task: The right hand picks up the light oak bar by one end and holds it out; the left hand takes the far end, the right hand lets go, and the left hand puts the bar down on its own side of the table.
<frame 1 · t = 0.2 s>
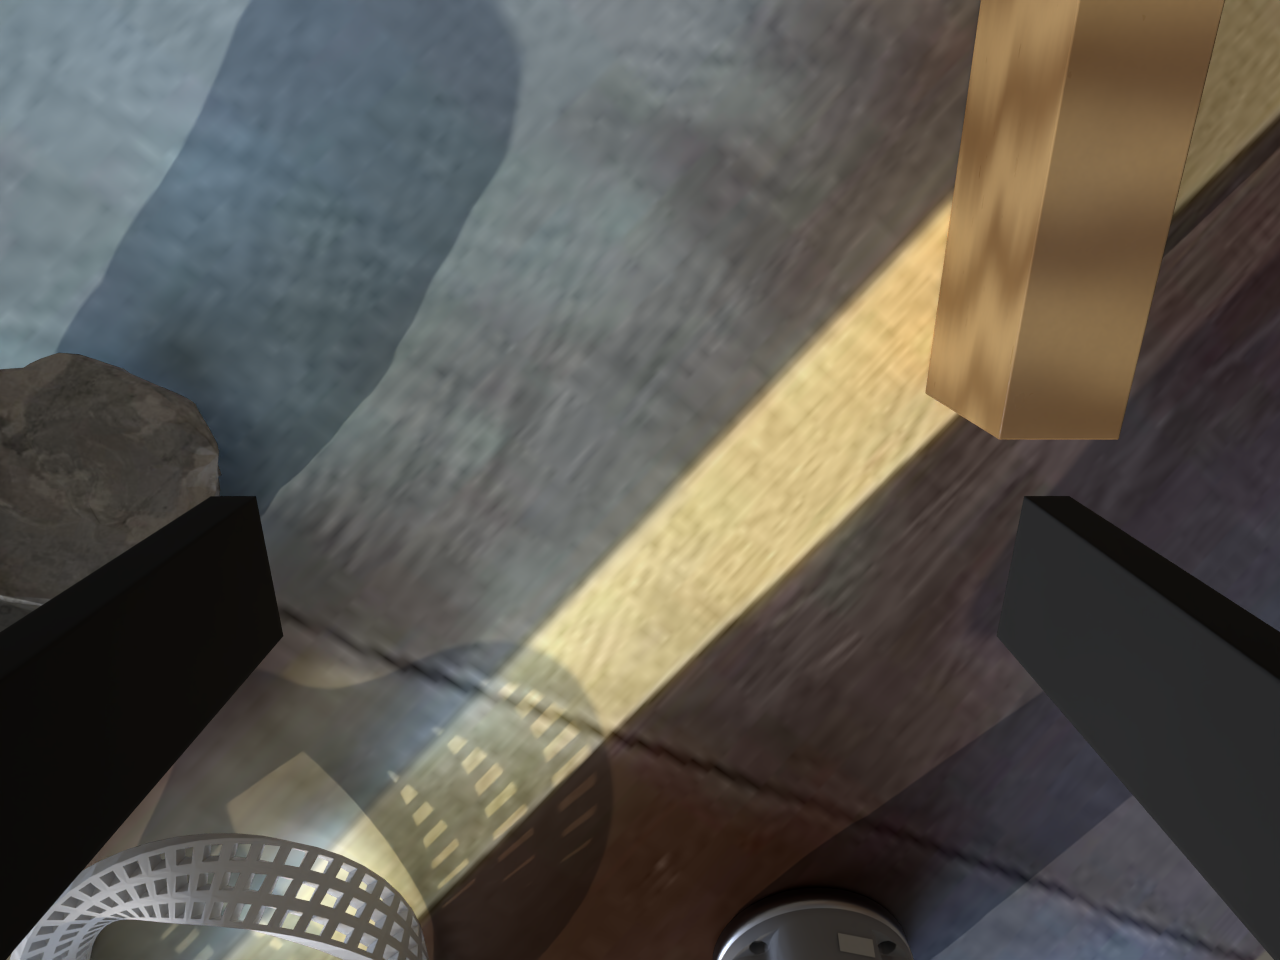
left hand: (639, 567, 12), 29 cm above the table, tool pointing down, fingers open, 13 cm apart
bar: (1017, 121, 36), on the table
decorative stone 2: (83, 570, 45), on the table
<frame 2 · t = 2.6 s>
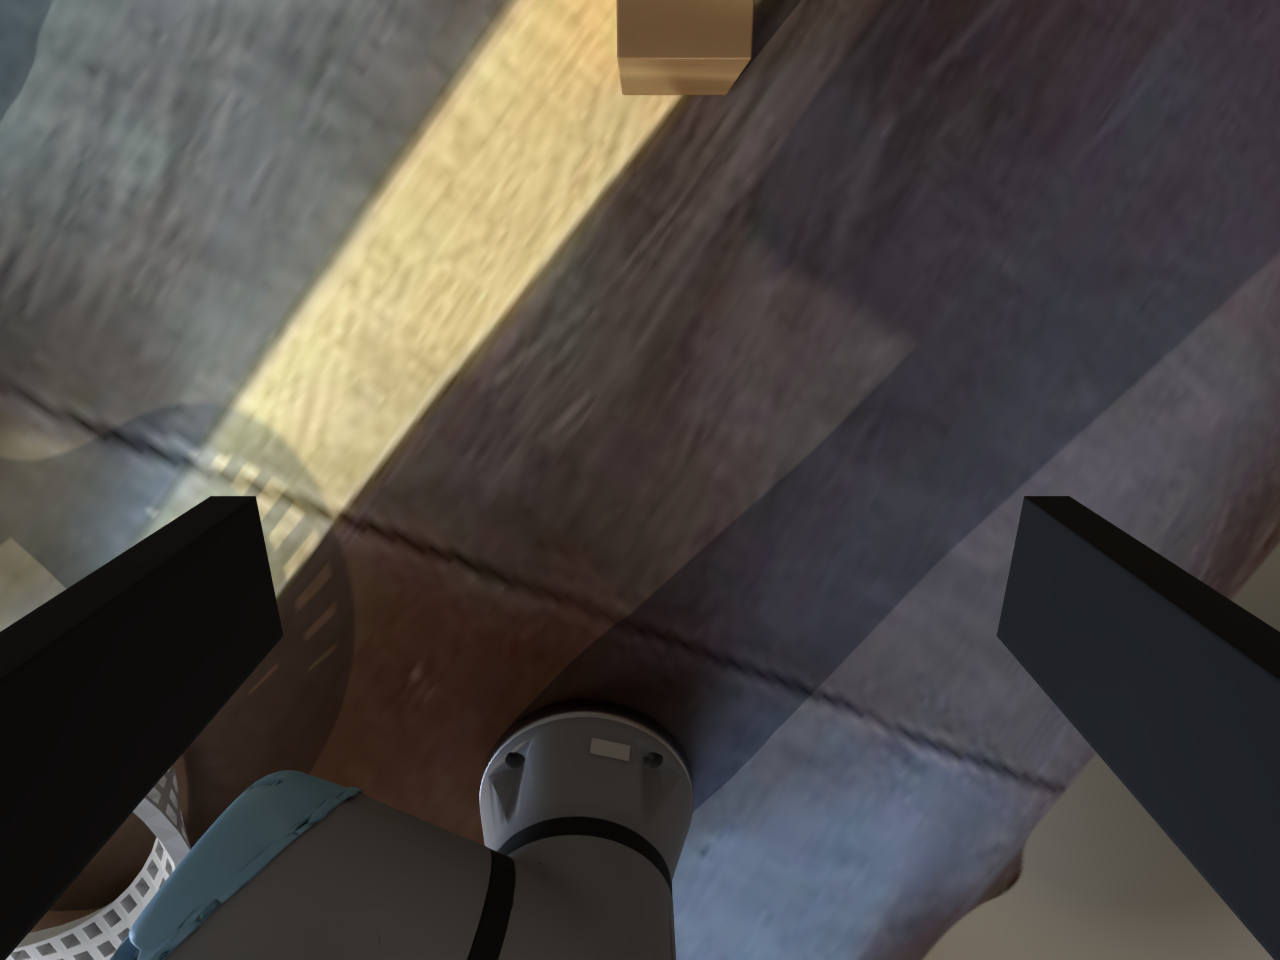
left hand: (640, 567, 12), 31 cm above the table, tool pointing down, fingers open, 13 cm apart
decorative object: (8, 795, 53), on the table
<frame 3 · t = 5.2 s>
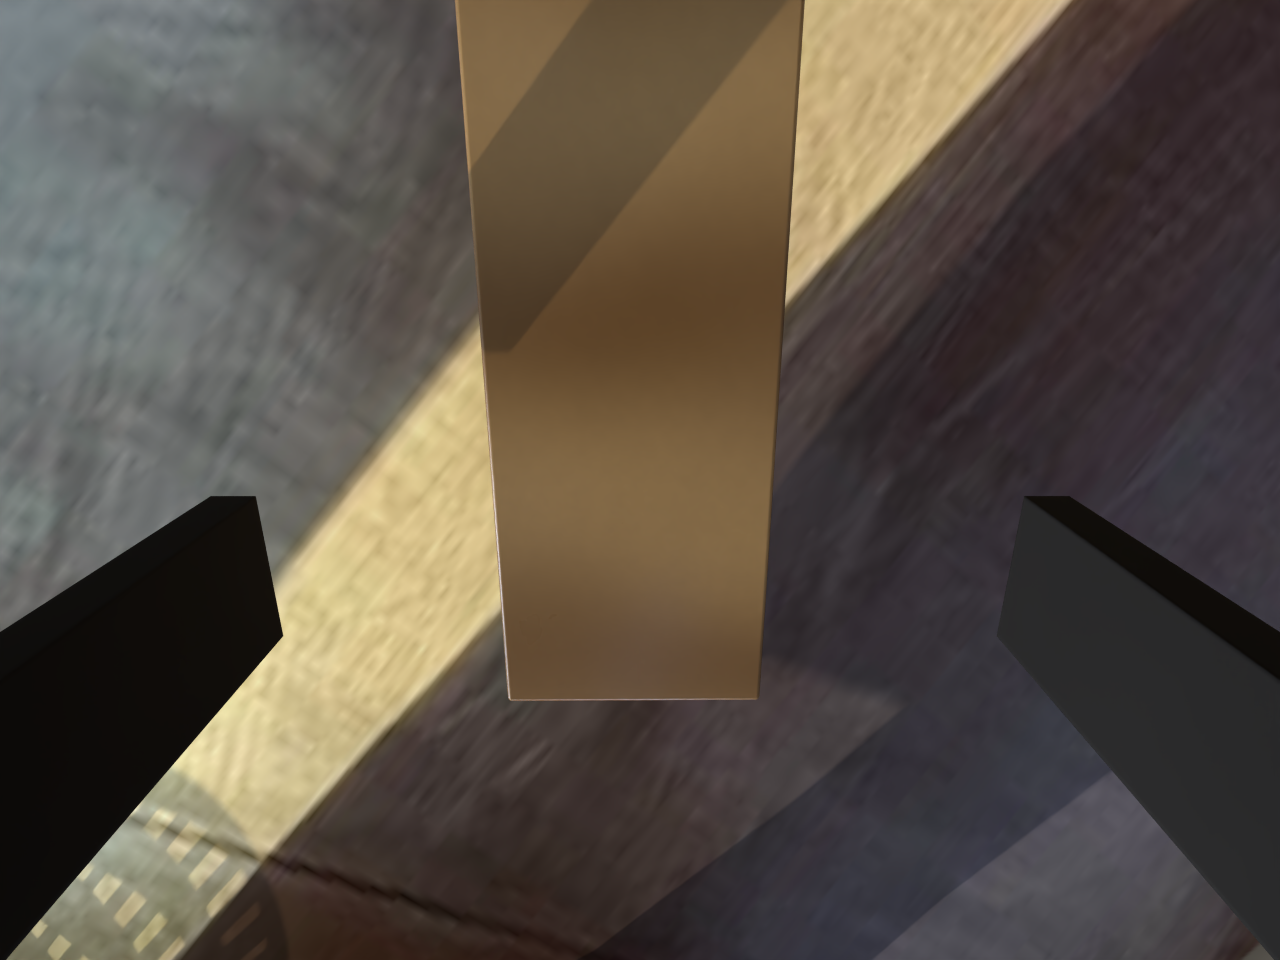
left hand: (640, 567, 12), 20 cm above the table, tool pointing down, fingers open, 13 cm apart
bar: (632, 56, 19), point 9 cm above the table, touching right hand
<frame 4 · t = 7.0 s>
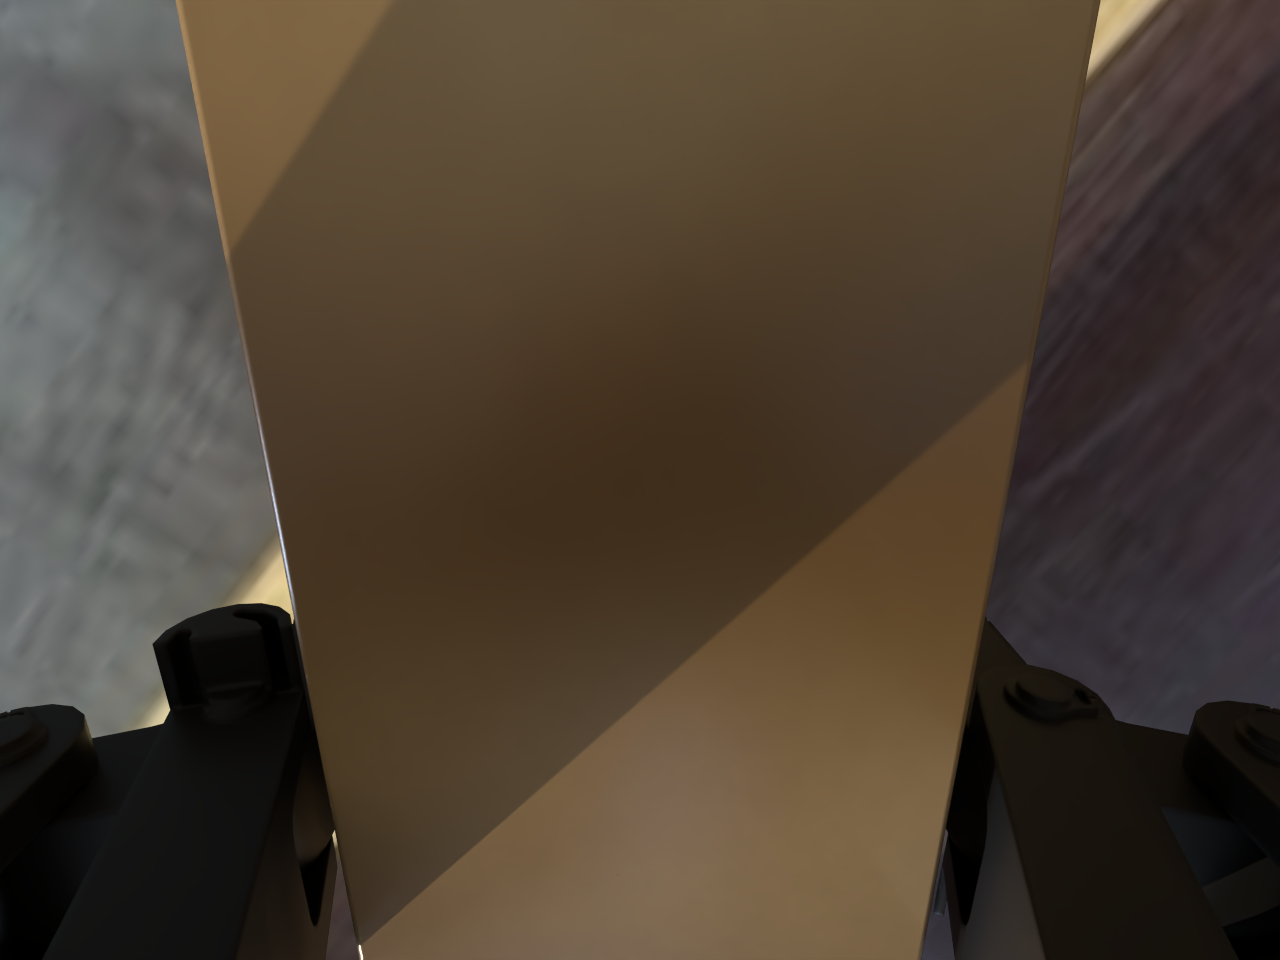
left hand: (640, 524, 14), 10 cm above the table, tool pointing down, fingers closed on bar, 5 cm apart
when the right hand's fingers open (13 cm above the table, at t = 7.8 s): bar stays where it is, held by the left hand.
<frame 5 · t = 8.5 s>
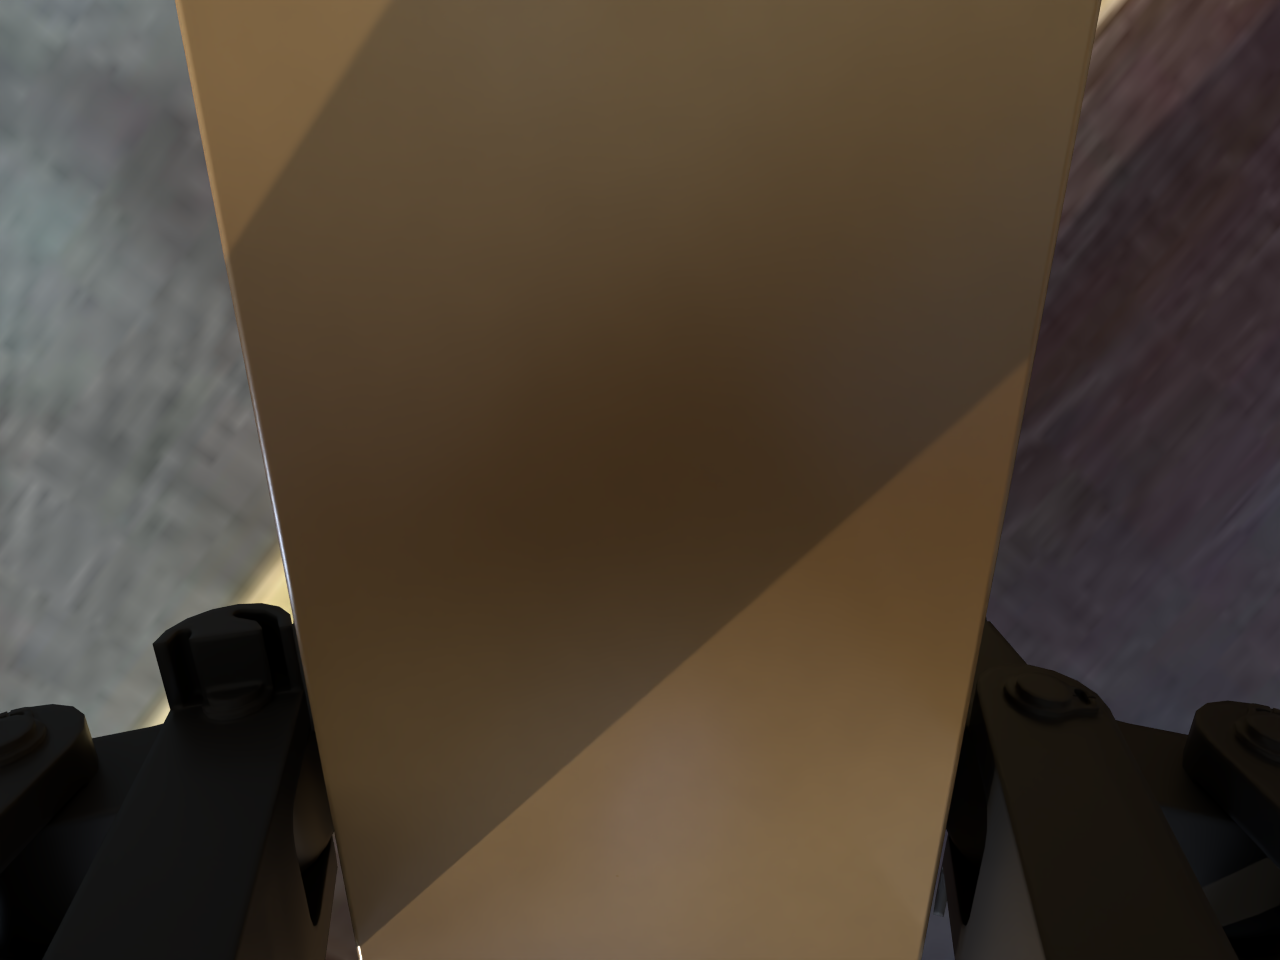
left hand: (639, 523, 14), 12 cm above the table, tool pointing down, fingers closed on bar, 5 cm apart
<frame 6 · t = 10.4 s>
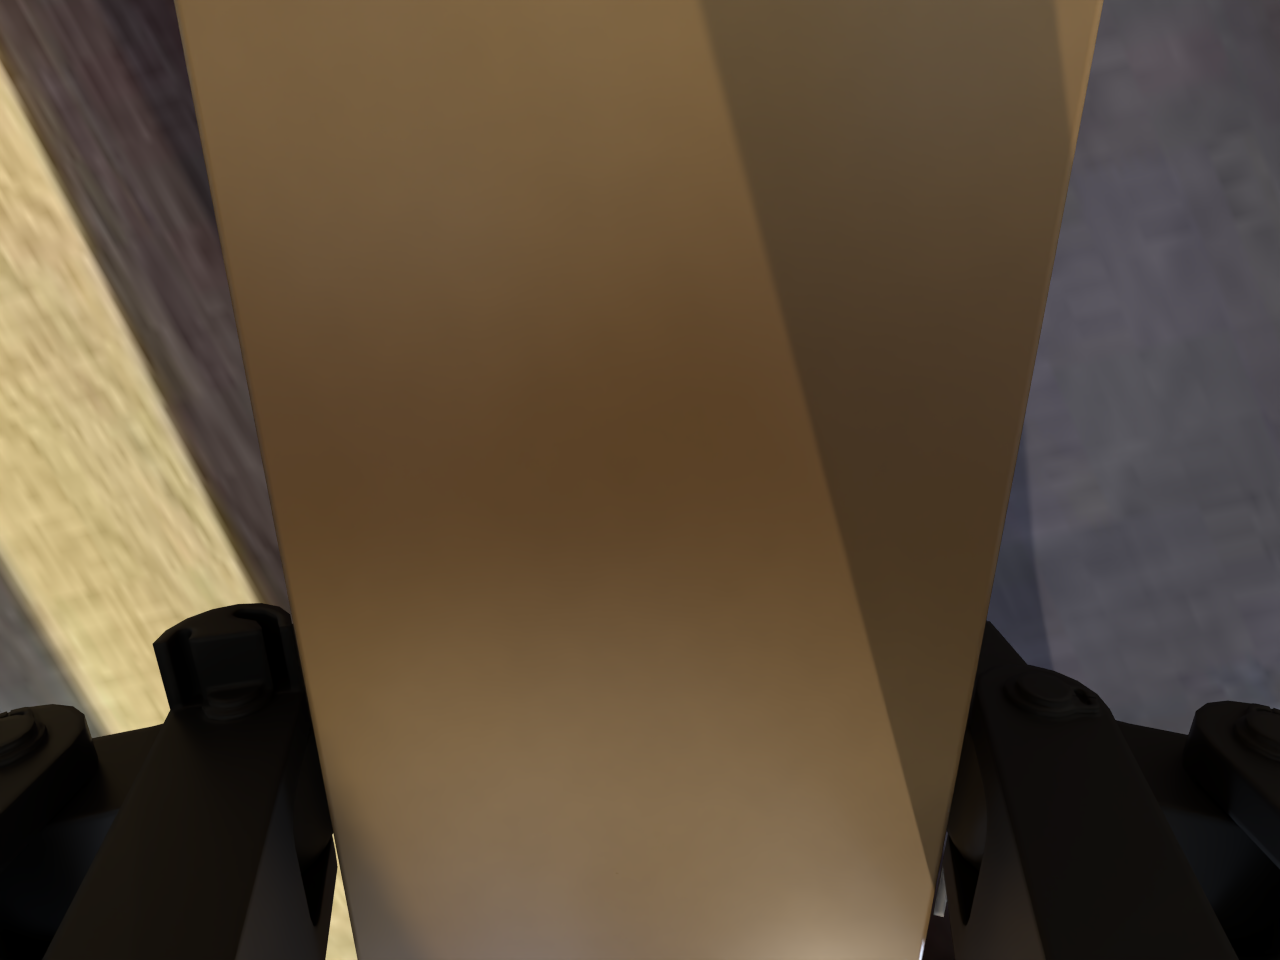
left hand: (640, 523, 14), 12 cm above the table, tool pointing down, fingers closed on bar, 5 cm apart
when the left hand's fingers open (2 cm above the table, at t = 11.8 s): bar drops 2 cm, on the table.
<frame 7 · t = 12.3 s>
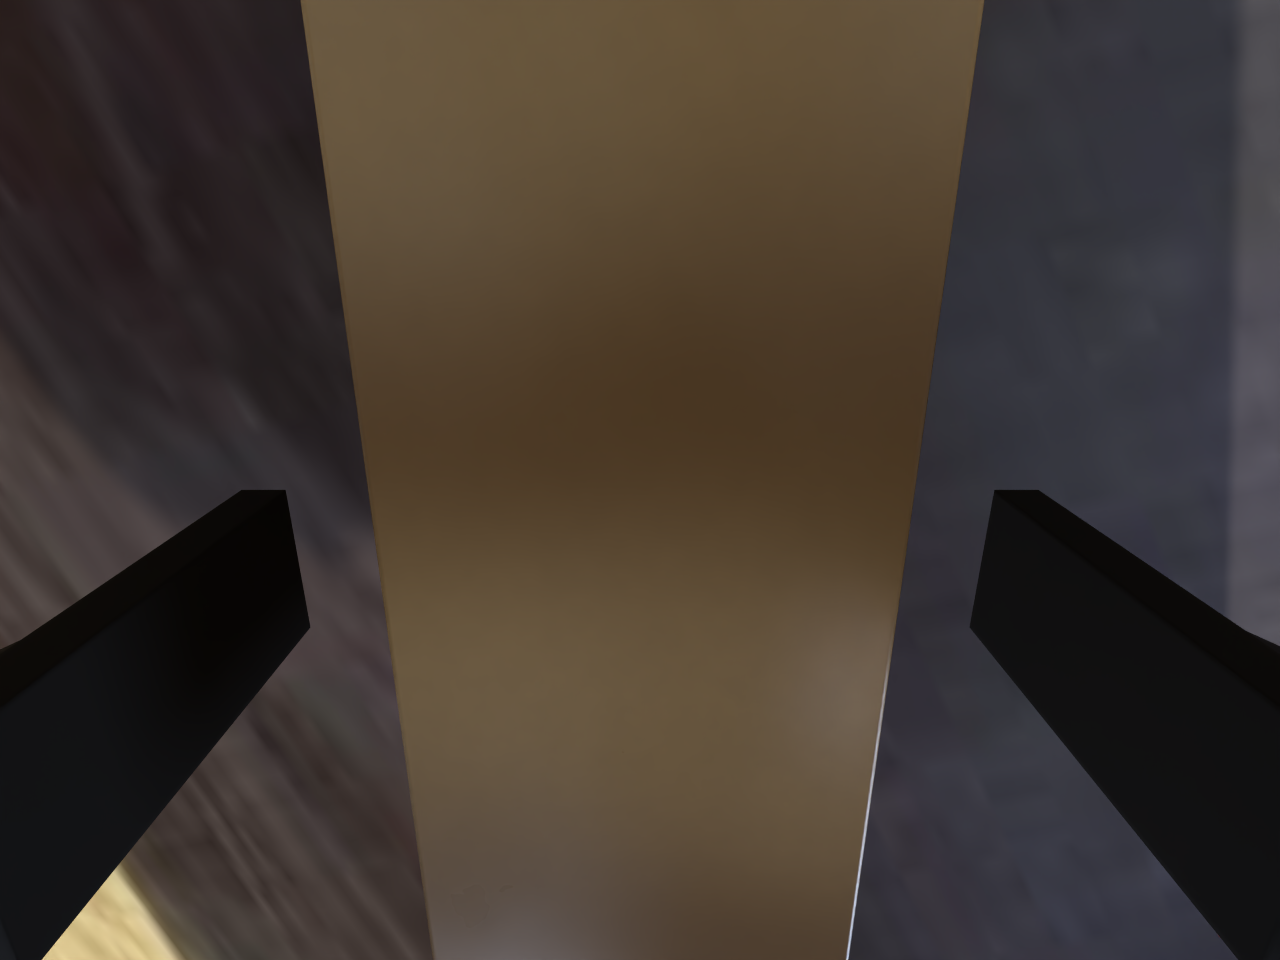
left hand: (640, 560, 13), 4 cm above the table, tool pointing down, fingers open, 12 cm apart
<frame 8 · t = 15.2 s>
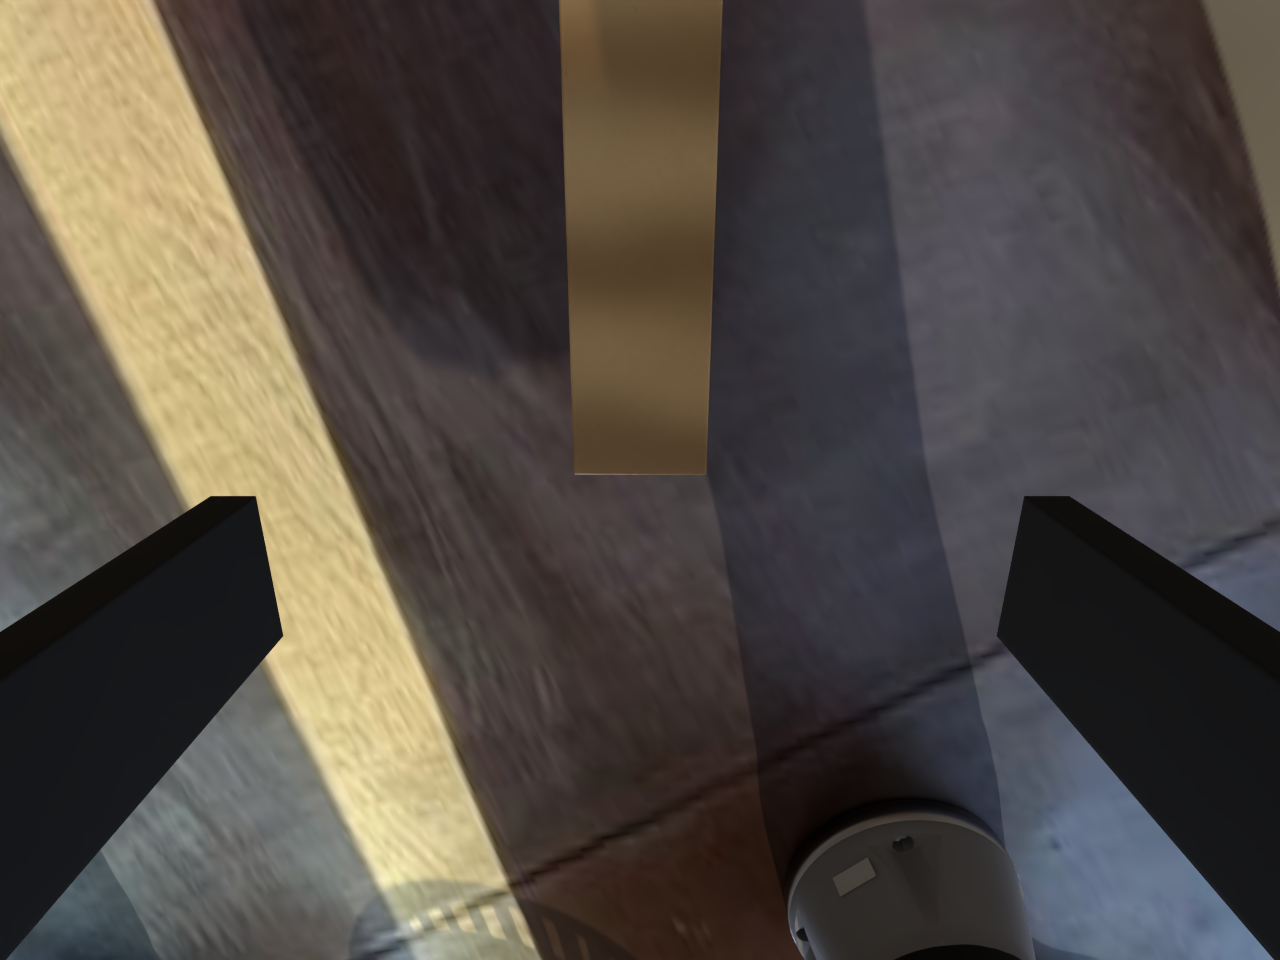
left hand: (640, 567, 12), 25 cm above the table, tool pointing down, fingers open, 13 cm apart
bar: (640, 125, 33), on the table
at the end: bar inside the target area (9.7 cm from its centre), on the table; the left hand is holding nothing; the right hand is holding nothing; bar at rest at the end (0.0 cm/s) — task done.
